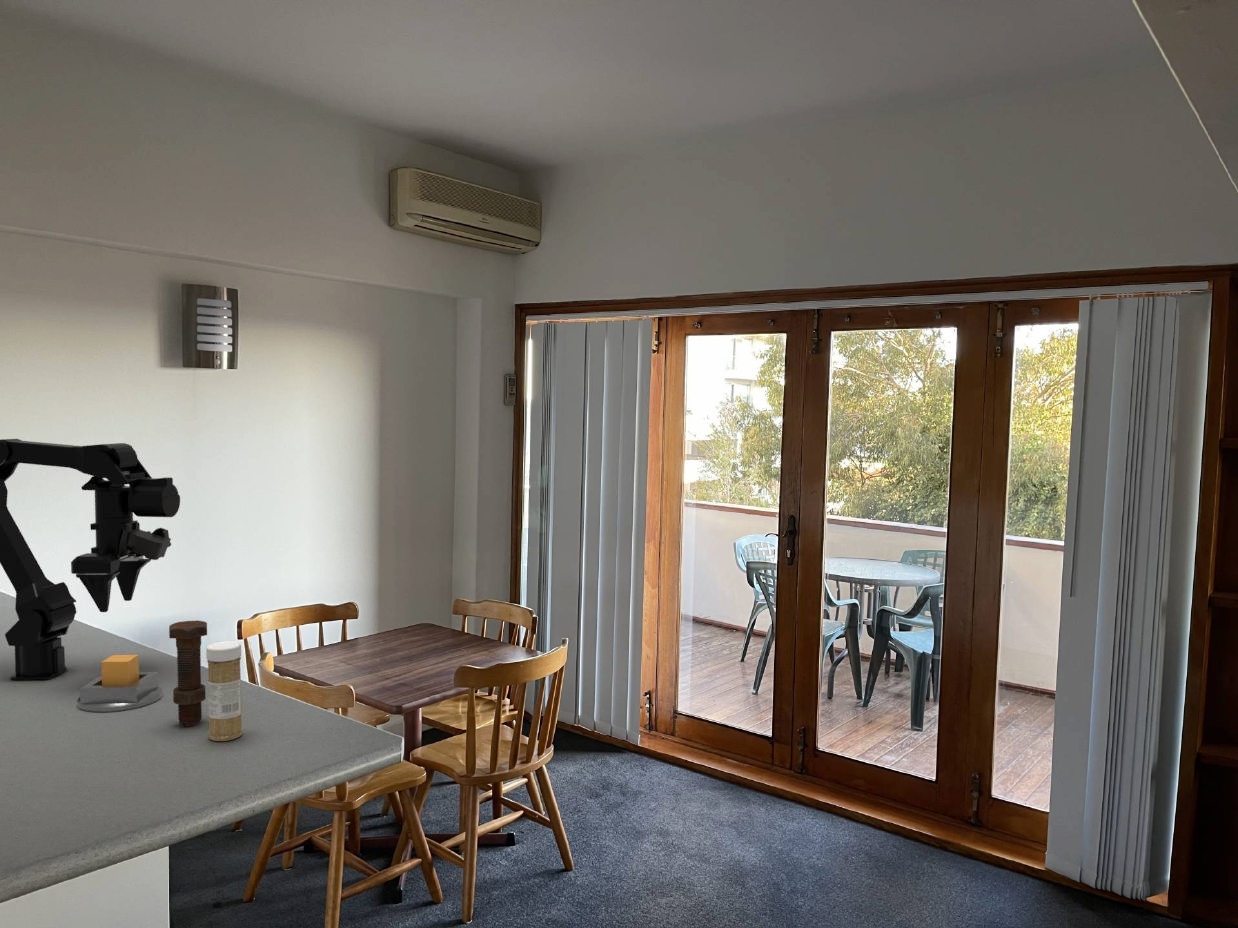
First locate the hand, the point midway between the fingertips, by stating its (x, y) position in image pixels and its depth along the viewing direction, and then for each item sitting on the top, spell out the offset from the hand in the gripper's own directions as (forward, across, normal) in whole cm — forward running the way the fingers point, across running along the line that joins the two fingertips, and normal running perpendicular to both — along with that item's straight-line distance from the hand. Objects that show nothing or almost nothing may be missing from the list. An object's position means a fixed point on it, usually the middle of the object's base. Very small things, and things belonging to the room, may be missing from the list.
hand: (116, 606), depth 160 cm
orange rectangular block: (+12, -13, -6) cm, 18 cm away
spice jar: (+13, -31, -28) cm, 44 cm away
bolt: (+13, -25, -21) cm, 35 cm away
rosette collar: (+12, -13, -6) cm, 19 cm away
